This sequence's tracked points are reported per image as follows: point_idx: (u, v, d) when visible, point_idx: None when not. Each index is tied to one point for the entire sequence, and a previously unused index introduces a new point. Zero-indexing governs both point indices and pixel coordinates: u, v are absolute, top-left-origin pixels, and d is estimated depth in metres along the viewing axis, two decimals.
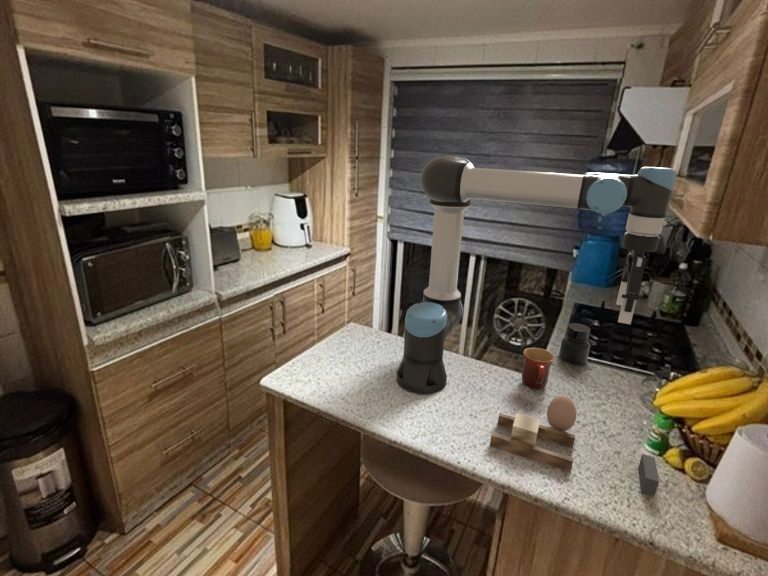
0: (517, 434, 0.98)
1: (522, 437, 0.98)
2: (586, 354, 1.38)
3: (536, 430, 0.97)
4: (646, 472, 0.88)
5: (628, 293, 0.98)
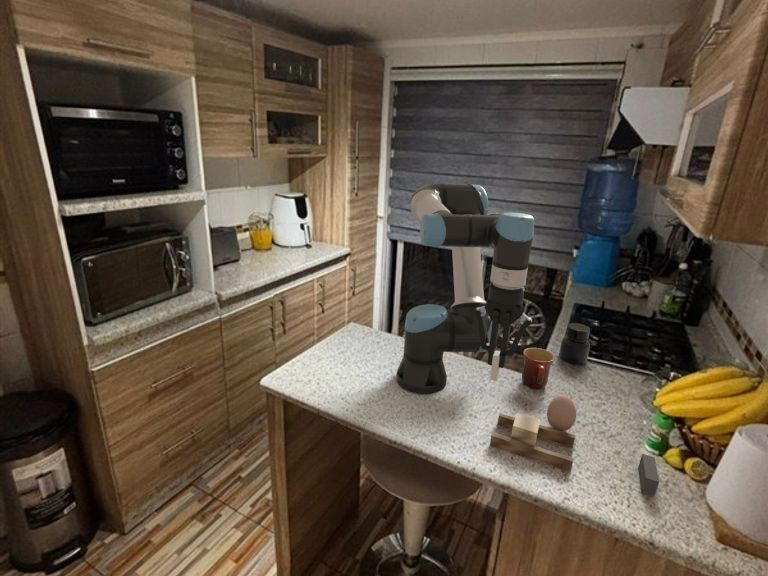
0: (517, 434, 0.98)
1: (522, 437, 0.98)
2: (586, 354, 1.38)
3: (536, 430, 0.97)
4: (646, 472, 0.88)
5: None
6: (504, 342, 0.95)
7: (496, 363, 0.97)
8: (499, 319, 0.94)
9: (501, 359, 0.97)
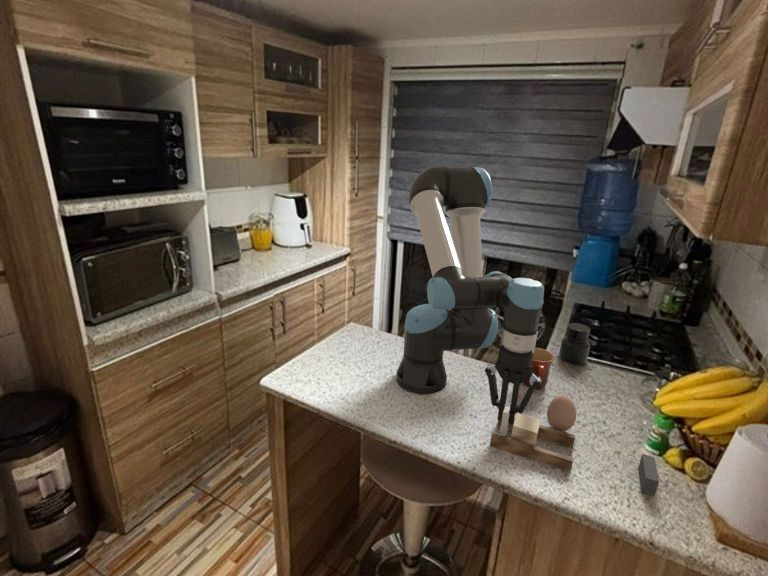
0: (518, 434, 0.98)
1: (522, 437, 0.98)
2: (586, 354, 1.38)
3: (536, 430, 0.97)
4: (646, 472, 0.88)
5: None
6: (514, 400, 0.98)
7: (506, 419, 1.00)
8: (509, 378, 0.97)
9: (511, 416, 1.00)
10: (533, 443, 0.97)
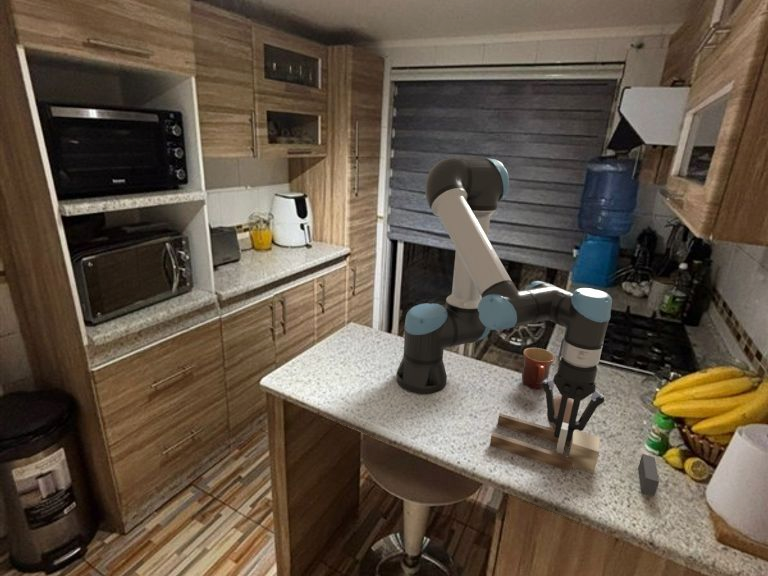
0: (577, 452, 0.93)
1: (582, 455, 0.93)
2: None
3: (598, 448, 0.92)
4: (646, 472, 0.88)
5: None
6: (574, 416, 0.92)
7: (564, 436, 0.95)
8: (569, 394, 0.92)
9: (569, 433, 0.95)
10: (594, 462, 0.92)
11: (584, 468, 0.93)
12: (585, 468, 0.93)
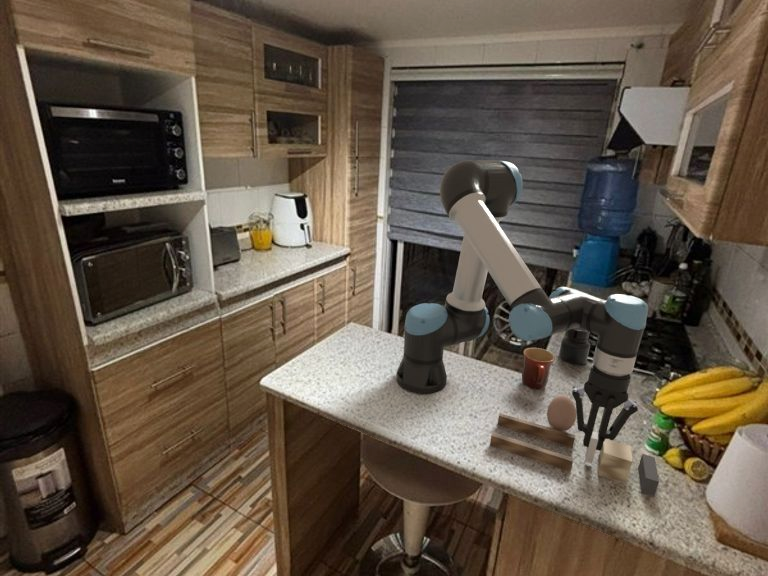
0: (608, 462, 0.91)
1: (613, 465, 0.90)
2: (586, 354, 1.38)
3: (630, 458, 0.89)
4: (646, 472, 0.88)
5: None
6: (605, 425, 0.90)
7: (594, 446, 0.92)
8: (601, 403, 0.89)
9: (599, 442, 0.92)
10: (626, 472, 0.90)
11: (616, 478, 0.91)
12: (617, 478, 0.91)
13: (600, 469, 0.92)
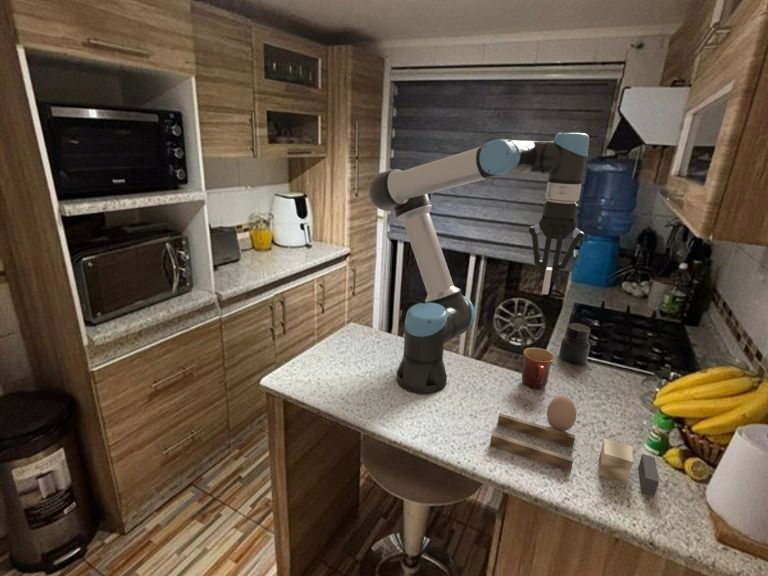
0: (609, 462, 0.91)
1: (614, 465, 0.90)
2: (586, 354, 1.38)
3: (631, 459, 0.89)
4: (646, 472, 0.88)
5: None
6: (557, 256, 1.04)
7: (548, 277, 1.06)
8: (553, 234, 1.03)
9: (553, 273, 1.06)
10: (627, 473, 0.90)
11: (617, 478, 0.91)
12: (617, 478, 0.91)
13: (601, 469, 0.92)
